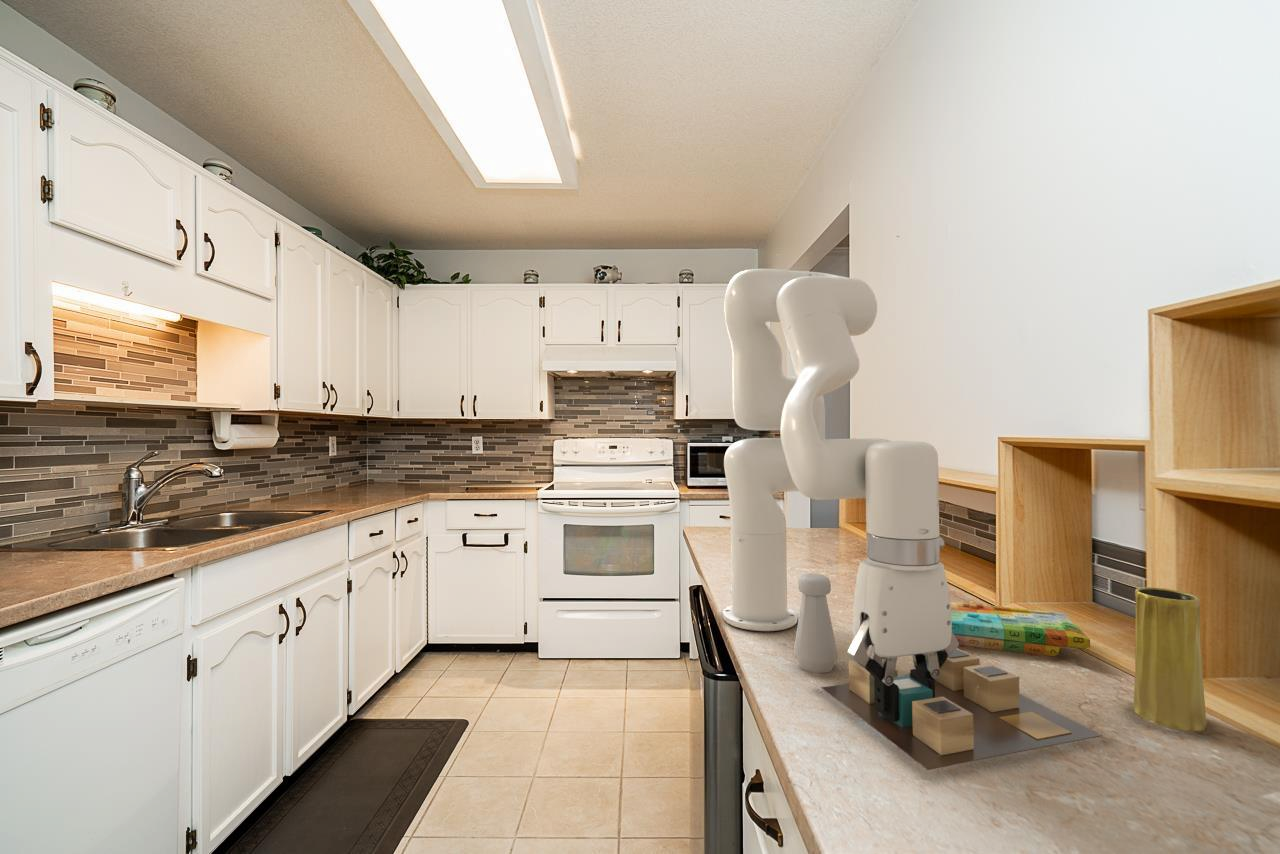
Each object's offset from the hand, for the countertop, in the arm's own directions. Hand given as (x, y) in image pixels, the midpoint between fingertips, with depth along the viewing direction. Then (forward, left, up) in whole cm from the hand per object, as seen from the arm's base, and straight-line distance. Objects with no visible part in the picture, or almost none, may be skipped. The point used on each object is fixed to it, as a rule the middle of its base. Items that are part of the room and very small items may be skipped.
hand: (904, 711), depth 64 cm
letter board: (0, +6, -1) cm, 6 cm away
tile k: (+5, 0, -1) cm, 6 cm away
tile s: (0, 0, -1) cm, 1 cm away
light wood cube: (-6, 0, -1) cm, 6 cm away
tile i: (-6, +12, -1) cm, 13 cm away
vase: (+8, +28, -1) cm, 29 cm away
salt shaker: (-15, -2, -1) cm, 15 cm away
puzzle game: (-16, +30, -1) cm, 34 cm away
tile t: (0, +12, -1) cm, 12 cm away
